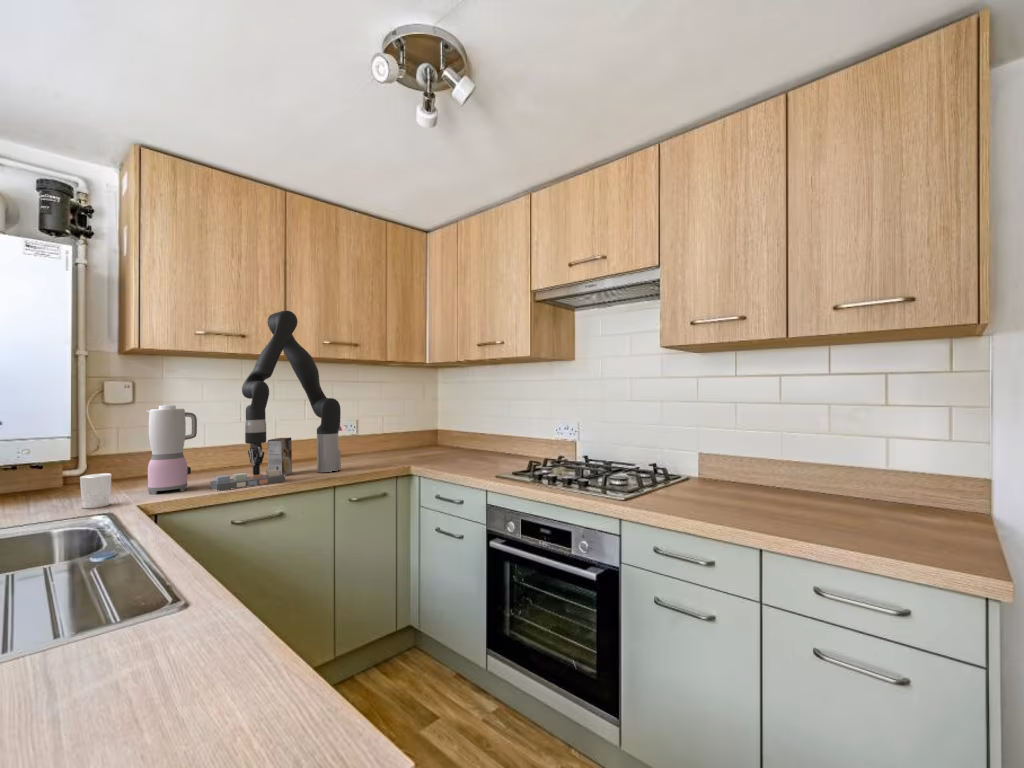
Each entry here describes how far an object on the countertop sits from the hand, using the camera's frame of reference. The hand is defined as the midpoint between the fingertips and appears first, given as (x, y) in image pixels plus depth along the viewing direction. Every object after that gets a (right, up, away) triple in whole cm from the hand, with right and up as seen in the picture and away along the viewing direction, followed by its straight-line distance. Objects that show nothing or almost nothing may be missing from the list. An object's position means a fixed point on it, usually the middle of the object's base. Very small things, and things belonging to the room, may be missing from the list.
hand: (256, 474), depth 196 cm
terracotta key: (0, -3, 0) cm, 3 cm away
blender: (-26, -4, -11) cm, 28 cm away
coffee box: (0, -4, +20) cm, 21 cm away
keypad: (-2, -4, -2) cm, 5 cm away
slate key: (-8, -2, -8) cm, 12 cm away
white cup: (-34, -4, -35) cm, 49 cm away
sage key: (-4, -2, -4) cm, 6 cm away
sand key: (+4, -2, +4) cm, 6 cm away
